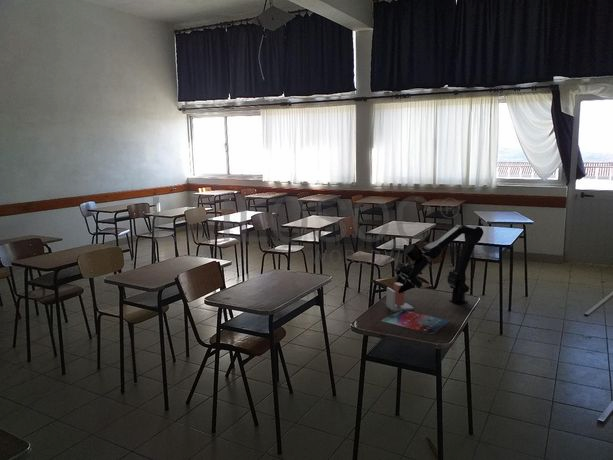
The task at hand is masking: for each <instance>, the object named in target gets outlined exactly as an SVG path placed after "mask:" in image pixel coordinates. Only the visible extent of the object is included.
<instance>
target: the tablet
mask: <svg viewBox="0 0 613 460" xmlns="http://www.w3.org/2000/svg"><path fill="white" fill-rule="evenodd" d="M380 322H381V323H382V322H383V323H385V324H388V325H389V324H390V325H391V326H392V325H393V326H397V327H401V328H405V329H407V330H412V331H416V332H420V333H423V334H425V335H430V336H431V335H434V334H435V333H437V332H438V331H440V330H441V329H442V328H443V327H445V326H446V325H448V324H449V323H450V320H449V319H444V318H441V317H440V318H439V317H435V316H431V315H428V314H423V313H418V312H416V311H415V312H414V311H411V310H407V311H406V310H405V311H397V312H392V313H391V314H389V315H388V316H386V317H384V318H383V319H380Z"/></svg>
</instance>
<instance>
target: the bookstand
mask: <svg viewBox="0 0 613 460" xmlns="http://www.w3.org/2000/svg"><path fill="white" fill-rule="evenodd" d="M385 308H387V309H388V310H389V311H391V313H395V312H397V311H405V310H406V311H413V310H414V309H415V308H414V307H413V306H412V305H410V304H409V303H407V302H404V305H403V306H397V305H396V304H395V291H394V289H393V288H390V287H386V305H385Z"/></svg>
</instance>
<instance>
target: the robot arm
mask: <svg viewBox="0 0 613 460" xmlns="http://www.w3.org/2000/svg"><path fill="white" fill-rule="evenodd" d="M462 234H463V235H464V244H463V247H462V250H461V253H460V255H459V258H458V260H457V263H456V266H455V268H454V269H453V270H450V271H448V275H447V277H446V279H447V284H448V285H449V287H450V289H451V290H452V294H451V299H449V302H451V303H454V304H456V305H462V304H466V303H468V302H469V301H468V300H466V293H469V291H470V287H469V286H468V285H467V284H466V280H467V277H466V276H467V274H466V271H467V269H468V265H469V264H470V259H471V257H472V255H473V252H474V249H475V246H476V245H477V244H478V243H479V242H480V241H481V239H482V238H483V236H484V230H483V228H482V227H480V226H476V225H474V224H469V225H463V224H456V225H454V226H453V228H451V229H450V230H448V232H446V233H444V235H442V236H441V237H440V238H438V239H437V240H435V241H432V242H430V243H428V244H426V245H424V247H419V246H418V245H417V244H416V243H414V242H413V243H411V244H409V245H407V246H406V247H405V248H404V250H403V254H405V256H406V257H407V258H408V259H409V260H411V261H412V263H403V262H401V261H398V263H397V265H396V267H395V269H394V270H393V272H394V273H395V276H396V280H395V283H397V282H400V283H401V284H403V286H402V287H401V288H400V290H399V291H398V293H402V292H404V293H405V292H406V291H409V290H412V289H415V288H418V289H419V290H420V289H421V288H422V287H423V283H422V281H420V280H419V278H418V276H419V275H420V276H422V275H423V273H422V272H423V271H424V270H425V269H426V267H428V266H430V267H433V260H435V259H437V258H438V257H439V256H440V255H441V254H442V253H443V251H444V249H445V248H446V247H447V246H448V245H450V244H451V243H452V242H453V241H455V240H456V239H457V238H459V237H460V236H461V235H462ZM392 290H394V286H393V288H392Z"/></svg>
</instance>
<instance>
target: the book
mask: <svg viewBox="0 0 613 460" xmlns="http://www.w3.org/2000/svg"><path fill="white" fill-rule="evenodd" d="M402 286H403V284H401V283H400V282H397V283H396V282H393V287H394V289H393V290H394V291H395V304H396V305H397V306H403V305H404V303H405V291H404V292H402V293H398V291H399V290H400V288H401V287H402Z"/></svg>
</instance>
